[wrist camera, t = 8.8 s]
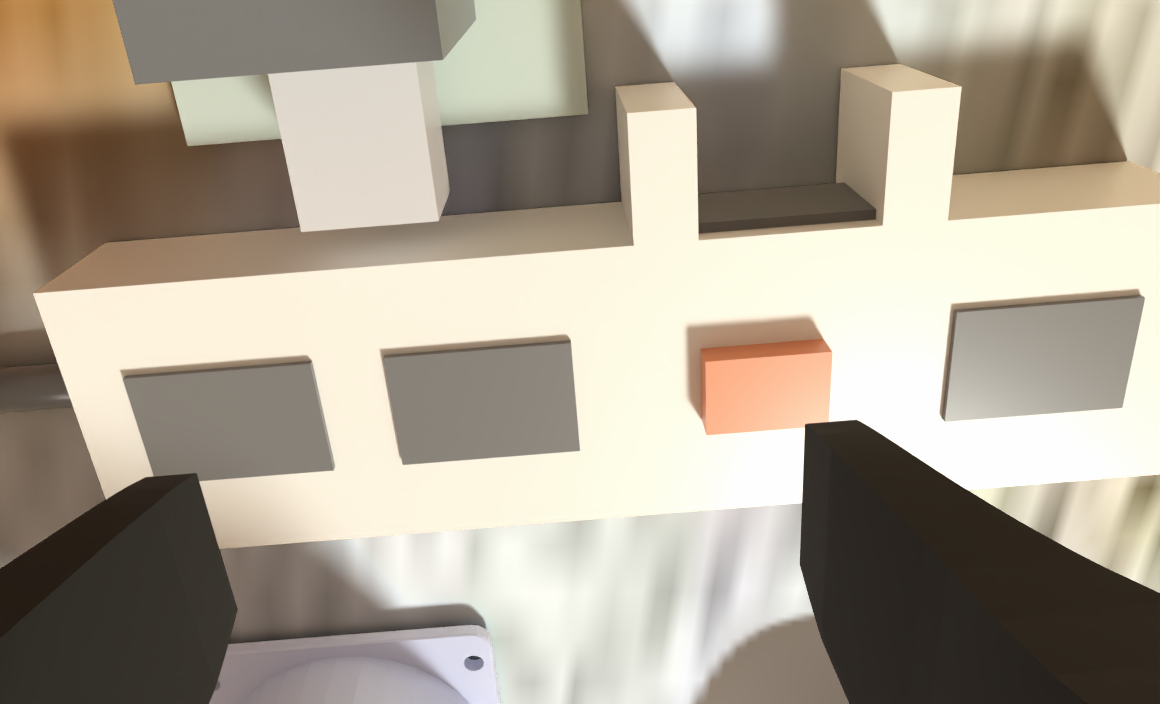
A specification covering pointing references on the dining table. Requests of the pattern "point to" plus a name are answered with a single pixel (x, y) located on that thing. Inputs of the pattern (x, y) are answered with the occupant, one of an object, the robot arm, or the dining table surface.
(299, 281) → the power strip
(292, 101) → the block
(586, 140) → the dining table surface
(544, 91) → the coaster
